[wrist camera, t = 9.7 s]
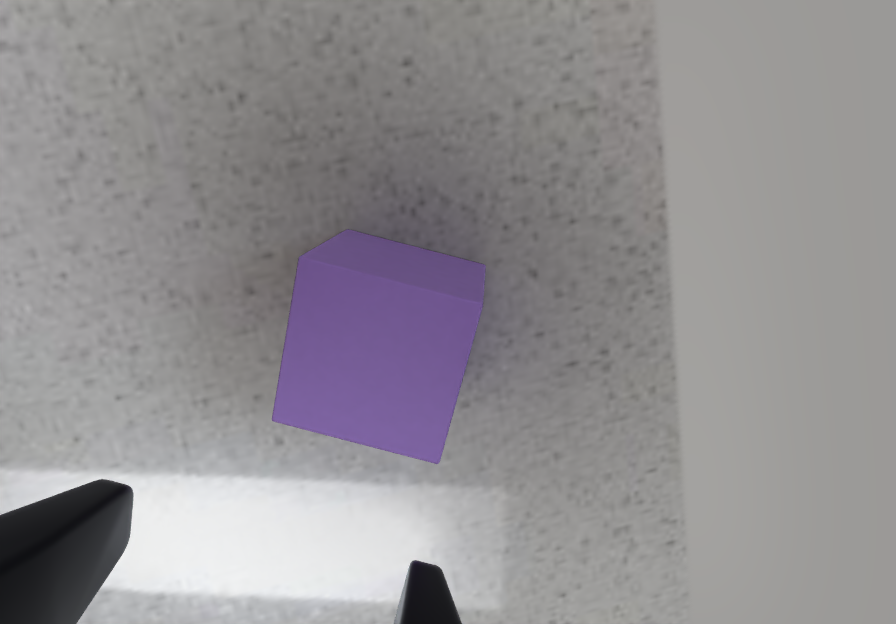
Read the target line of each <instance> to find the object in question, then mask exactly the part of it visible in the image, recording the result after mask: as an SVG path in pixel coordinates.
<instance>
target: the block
mask: <svg viewBox="0 0 896 624" xmlns="http://www.w3.org/2000/svg"><path fill="white" fill-rule="evenodd" d="M485 269H486V266H485V265H484V264H480V263H476V262H473V261H469V260H465V259H461V258H457V257H453V256H449V255H446V254H442V253H438V252H434V251H430V250H426V249H422V248H418V247H415V246H411V245H407V244H403V243H399V242H395V241H391V240H388V239H384V238H380V237H376V236H372V235H368V234H364V233H360V232H357V231H353V230H349V229H347V230H345V231H343V232H341V233H340V234H338V235H336V236H334V237H333V238H331V239H329V240H327V241H326V242H324V243H322V244H320V245H319V246H317V247H315V248H314V249H312V250H310V251H308V252H307V253H305V254H303V255H301V256H300V257H299V259H298V265H297V271H296V277H295V283H294V289H293V295H292V301H291V307H290V313H289V319H288V325H287V331H286V337H285V343H284V349H283V355H282V361H281V368H280V374H279V380H278V386H277V392H276V398H275V404H274V410H273V416H272V421H274V422H278V423H282V424H286V425H289V426H293V427H297V428H301V429H305V430H309V431H312V432H316V433H320V434H324V435H328V436H332V437H335V438H339V439H343V440H347V441H351V442H355V443H358V444H362V445H366V446H370V447H374V448H378V449H382V450H385V451H389V452H393V453H397V454H401V455H405V456H408V457H412V458H416V459H420V460H424V461H428V462H431V463H435V464H438V463H439V462H440V459H441V456H442V452H443V448H444V445H445V441H446V437H447V434H448V430H449V427H450V423H451V419H452V416H453V412H454V408H455V405H456V401H457V398H458V394H459V390H460V387H461V383H462V380H463V376H464V372H465V369H466V365H467V361H468V358H469V354H470V351H471V347H472V343H473V340H474V336H475V333H476V329H477V325H478V322H479V318H480V314H481V311H482V307H483V297H484V283H485Z"/></svg>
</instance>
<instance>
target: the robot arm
mask: <svg viewBox="0 0 896 624" xmlns="http://www.w3.org/2000/svg"><path fill="white" fill-rule="evenodd" d="M132 508H133V490H132V488H131V487H130V486H128V485H125V484H122V483H118V482H114V481H110V480H104V479H101V480H96V481H93V482H90V483H88V484H85V485H82V486H79V487H77V488H74V489H71V490H68V491H66V492H63V493H60V494H57V495H54V496H52V497H49V498H46V499H43V500H41V501H38V502H35V503H32V504H30V505H27V506H24V507H21V508H19V509H16V510H13V511H10V512H7V513H5V514H2V515H0V624H76V623H77V622H78V620H79V619H80V617H81V616H82V614H83V613H84V611H85V610H86V608H87V607H88V605H89V604H90V602H91V601H92V599H93V598H94V596H95V595H96V593H97V592H98V590H99V589H100V587H101V586H102V584H103V583H104V581H105V580H106V578H107V577H108V575H109V574H110V572H111V571H112V569H113V568H114V566H115V565H116V563H117V562H118V560H119V559H120V557H121V556H122V554H123V552H124V551H125V549H126V546H127V544H128V541H129V538H130V531H131V519H132ZM394 624H462V623H461V620H460V617H459V615H458V612H457V609H456V607H455V604H454V601H453V599H452V596H451V593H450V590H449V588H448V585H447V582H446V580H445V577H444V574H443V572H442V570H441V568H440V567H438V566H436V565H432V564H428V563H424V562H421V561H416V560H415V561H412V562H411V564H410V566H409V569H408V573H407V576H406V580H405V583H404V587H403V591H402V594H401V598H400V602H399V605H398V609H397V613H396V617H395V621H394Z"/></svg>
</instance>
